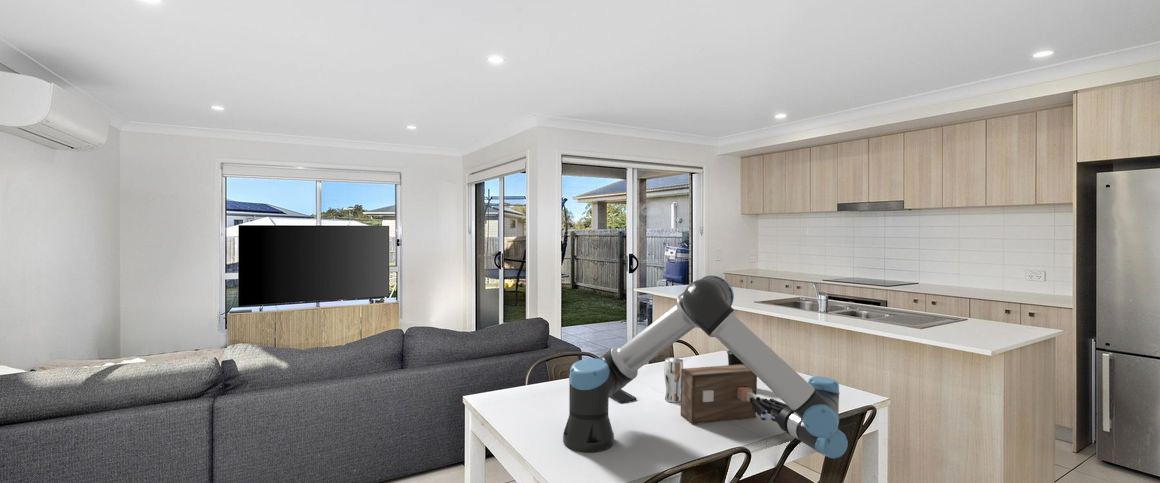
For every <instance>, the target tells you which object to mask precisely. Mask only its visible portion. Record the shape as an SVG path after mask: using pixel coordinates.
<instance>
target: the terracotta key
mask: <svg viewBox="0 0 1160 483" xmlns="http://www.w3.org/2000/svg"><path fill="white" fill-rule="evenodd" d="M746 392H752V389H751V388H749V387H744V386H739V387H737V398H738V399H740V400H741V401H747V400H746Z"/></svg>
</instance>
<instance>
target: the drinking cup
mask: <svg viewBox="0 0 1160 483" xmlns="http://www.w3.org/2000/svg"><path fill="white" fill-rule="evenodd" d="M726 353H727V361H728V363H727V365H738V364H743V363H742V362H741V361H740V360H739V359H738V358H737V357H736V356H735V355H734V354H733V353H732V352H731V351H730V350H729V349H728V350H727V352H726Z"/></svg>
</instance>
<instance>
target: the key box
mask: <svg viewBox="0 0 1160 483" xmlns="http://www.w3.org/2000/svg"><path fill="white" fill-rule="evenodd" d="M739 386H744V387H749V388H751V389H752V393H754V394H756V395H758V394H757V393H758V392H757V389H758V377H757V376H756V375H755V374H754V373H753V372H752V371H751V370H750V369H749V368H748V367H747V366H746V365H744V364H738V365H728V364H726V365H714V366H702V367H701V366H700V367H689V368H686V367H685V368H683V369H681V402H680V417H682V418H683V419H684V420H686V421H687V422H688V423H690V424H691V425H698V424H709V423H716V422H725V421H726V422H727V421H735V420H743V419H745V420H746V419H754V418H757V413H756V412H755V411H754V410H753V409H752V403H750V402H749V401H741V400H740V399H738V398H737V387H739ZM706 389H712V390H714V399H713V401H712V402H702V390H706Z"/></svg>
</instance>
